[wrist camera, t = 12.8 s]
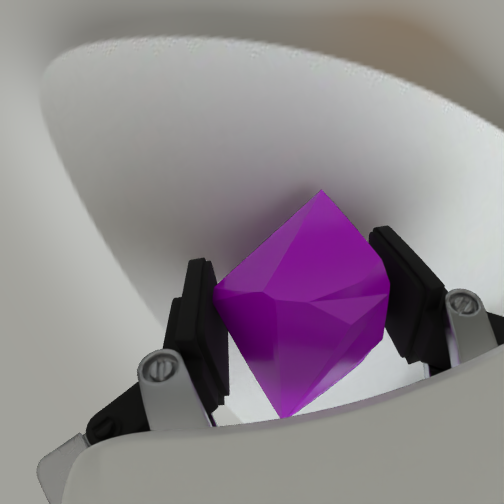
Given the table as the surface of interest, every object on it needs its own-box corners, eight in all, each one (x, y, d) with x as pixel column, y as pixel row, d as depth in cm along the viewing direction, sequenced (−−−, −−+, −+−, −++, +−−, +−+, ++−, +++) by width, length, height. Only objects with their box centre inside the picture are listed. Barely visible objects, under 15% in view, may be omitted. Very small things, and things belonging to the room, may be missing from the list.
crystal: (367, 290, 12) (413, 371, 8) (254, 337, 13) (264, 428, 9) (333, 183, 10) (399, 250, 6) (193, 248, 11) (175, 344, 7)
